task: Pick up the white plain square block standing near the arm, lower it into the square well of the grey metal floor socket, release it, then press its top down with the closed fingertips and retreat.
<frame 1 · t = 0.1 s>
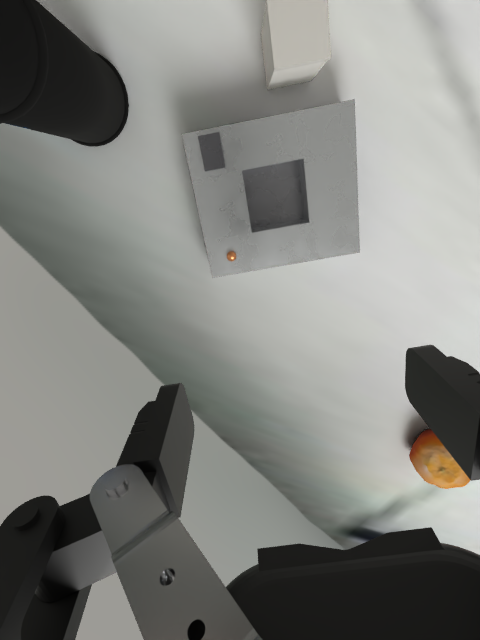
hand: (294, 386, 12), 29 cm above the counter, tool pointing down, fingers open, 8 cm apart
white plain square block: (286, 58, 32), on the counter
fruit: (428, 438, 51), on the counter
aerosol can: (88, 100, 33), on the counter
socket: (272, 195, 37), on the counter
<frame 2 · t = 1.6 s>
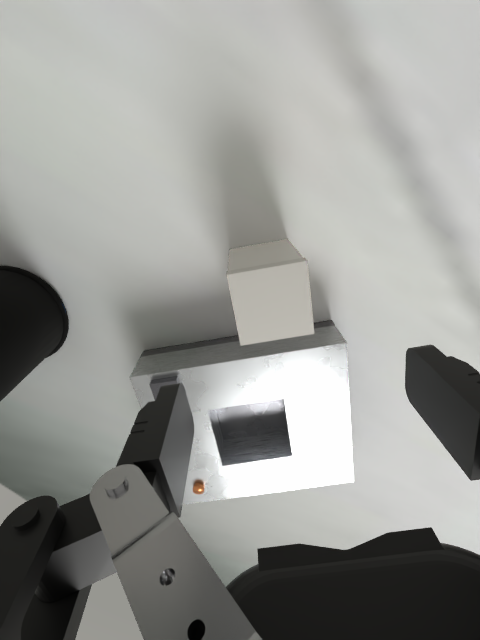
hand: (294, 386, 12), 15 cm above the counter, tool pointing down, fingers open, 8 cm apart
white plain square block: (262, 272, 26), on the counter
aerosol can: (18, 314, 27), on the counter
socket: (249, 402, 30), on the counter
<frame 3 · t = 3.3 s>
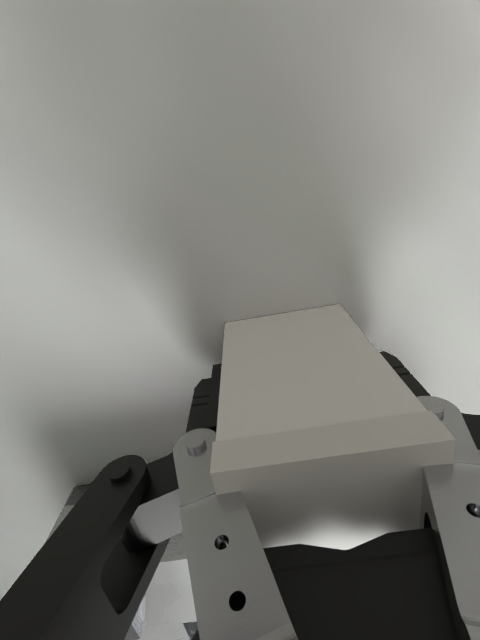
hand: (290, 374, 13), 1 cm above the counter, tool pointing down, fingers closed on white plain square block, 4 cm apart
white plain square block: (288, 362, 13), on the counter, touching gripper
socket: (259, 557, 18), on the counter
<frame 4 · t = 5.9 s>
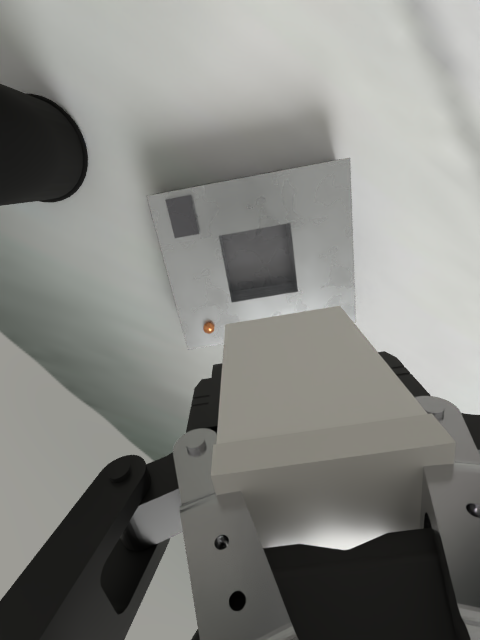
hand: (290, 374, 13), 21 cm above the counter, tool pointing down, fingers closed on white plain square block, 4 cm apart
white plain square block: (288, 364, 13), point 20 cm above the counter, touching gripper
aerosol can: (41, 151, 29), on the counter
socket: (256, 254, 32), on the counter
when the fingers open (4 cm above the counter, at t = 8.6 s): white plain square block drops 2 cm, resting on socket.
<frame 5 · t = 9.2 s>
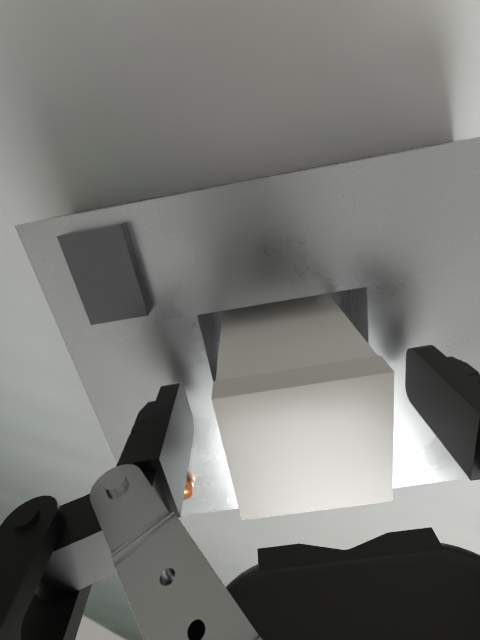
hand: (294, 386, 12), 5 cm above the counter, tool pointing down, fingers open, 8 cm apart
white plain square block: (278, 338, 16), point 1 cm above the counter, touching socket
socket: (278, 329, 16), on the counter
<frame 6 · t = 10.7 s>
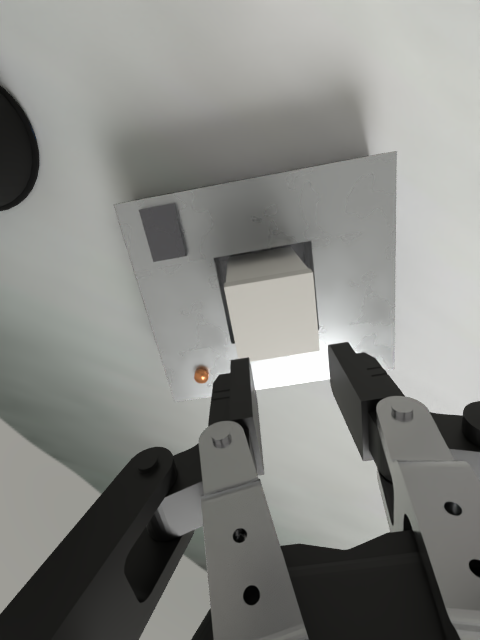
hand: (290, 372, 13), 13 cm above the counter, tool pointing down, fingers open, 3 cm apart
white plain square block: (263, 281, 24), point 1 cm above the counter, touching socket
socket: (264, 278, 25), on the counter
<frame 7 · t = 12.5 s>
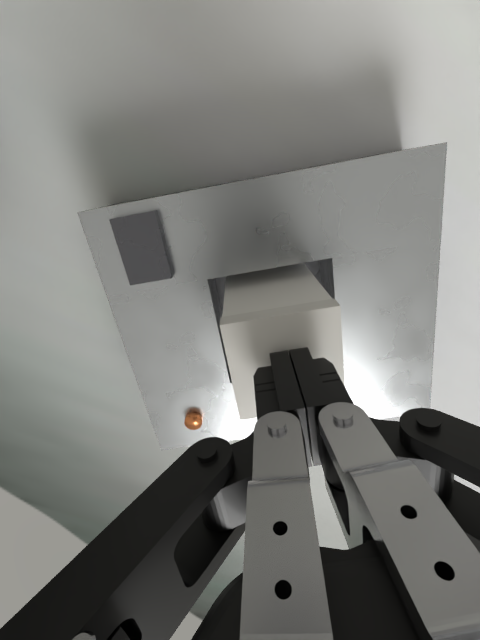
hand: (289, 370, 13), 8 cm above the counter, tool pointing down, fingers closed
white plain square block: (269, 304, 20), point 1 cm above the counter, touching socket
socket: (269, 299, 21), on the counter
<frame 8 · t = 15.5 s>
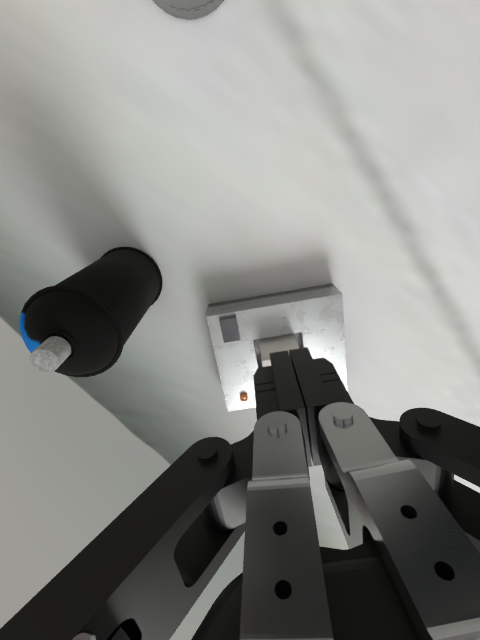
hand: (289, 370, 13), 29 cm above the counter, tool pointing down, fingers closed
white plain square block: (277, 345, 44), point 1 cm above the counter, touching socket
aerosol can: (130, 279, 42), on the counter
socket: (277, 342, 45), on the counter
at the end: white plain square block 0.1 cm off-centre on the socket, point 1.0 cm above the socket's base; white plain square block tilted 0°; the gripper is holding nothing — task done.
